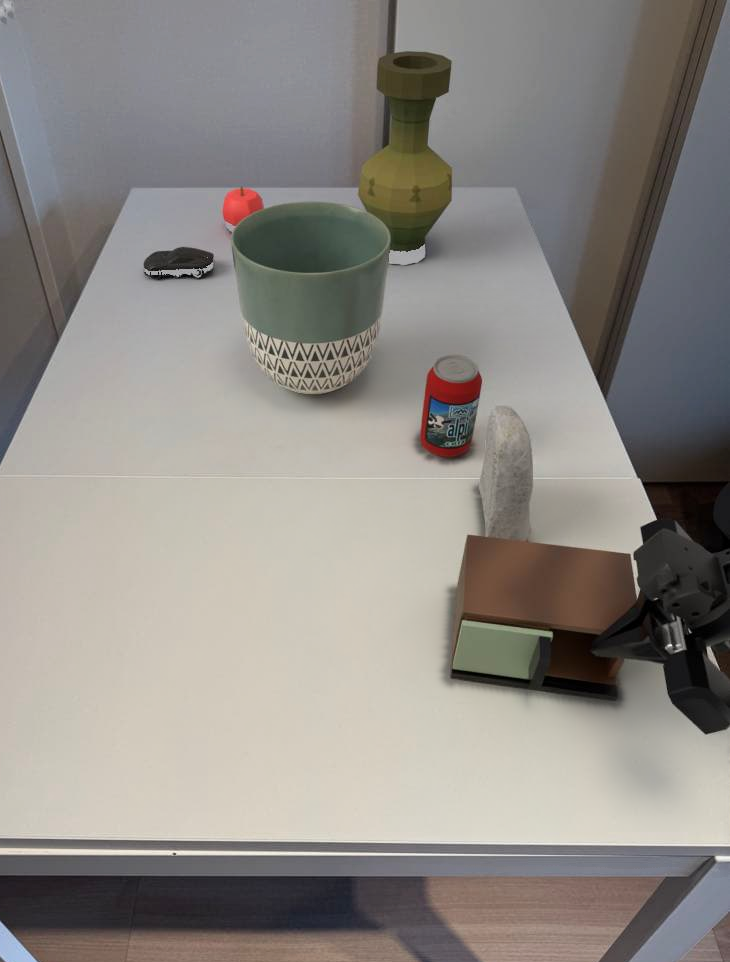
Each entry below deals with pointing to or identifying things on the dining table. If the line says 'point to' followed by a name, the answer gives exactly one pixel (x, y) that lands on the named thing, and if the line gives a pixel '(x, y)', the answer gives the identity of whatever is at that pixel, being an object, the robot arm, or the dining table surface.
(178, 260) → the toy car
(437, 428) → the beverage can
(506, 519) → the decorative stone
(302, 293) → the planter
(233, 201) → the apple
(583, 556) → the cabinet
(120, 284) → the dining table surface
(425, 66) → the vase
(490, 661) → the sliding cabinet door
